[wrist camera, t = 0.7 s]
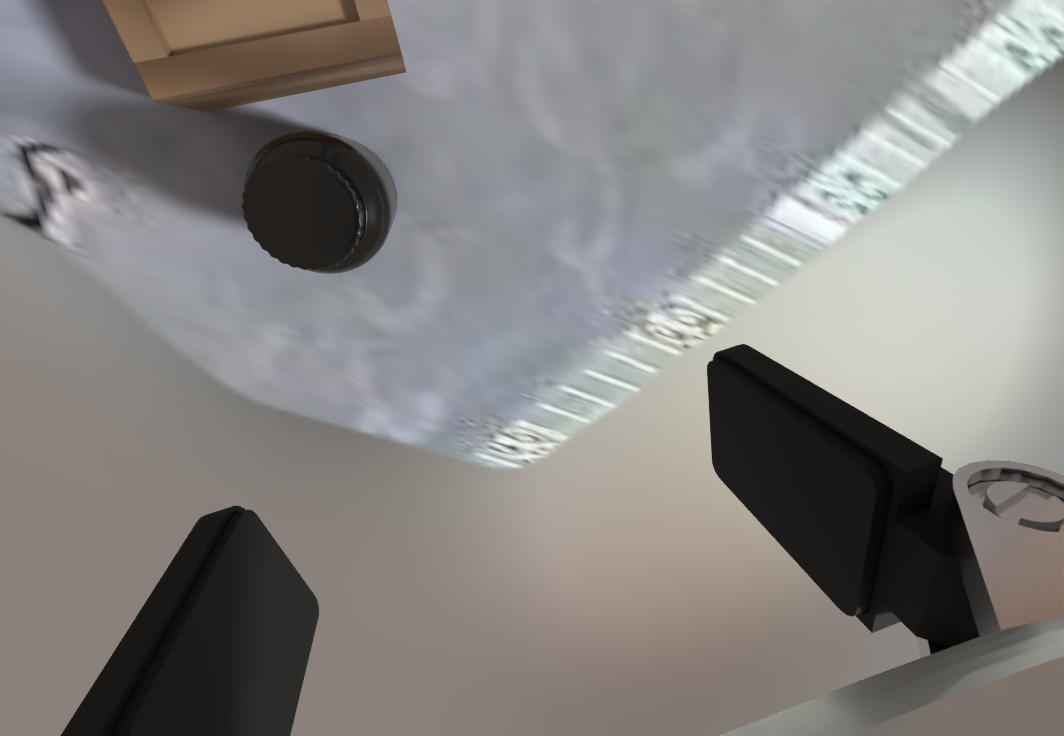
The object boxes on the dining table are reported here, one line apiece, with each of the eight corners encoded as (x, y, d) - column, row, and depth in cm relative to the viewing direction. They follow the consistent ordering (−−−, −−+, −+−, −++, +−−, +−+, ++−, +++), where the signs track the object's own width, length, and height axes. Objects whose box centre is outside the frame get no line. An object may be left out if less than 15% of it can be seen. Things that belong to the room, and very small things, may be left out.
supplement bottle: (287, 235, 30) (210, 276, 19) (291, 124, 27) (205, 100, 17) (393, 256, 32) (376, 303, 21) (405, 153, 29) (393, 149, 19)
